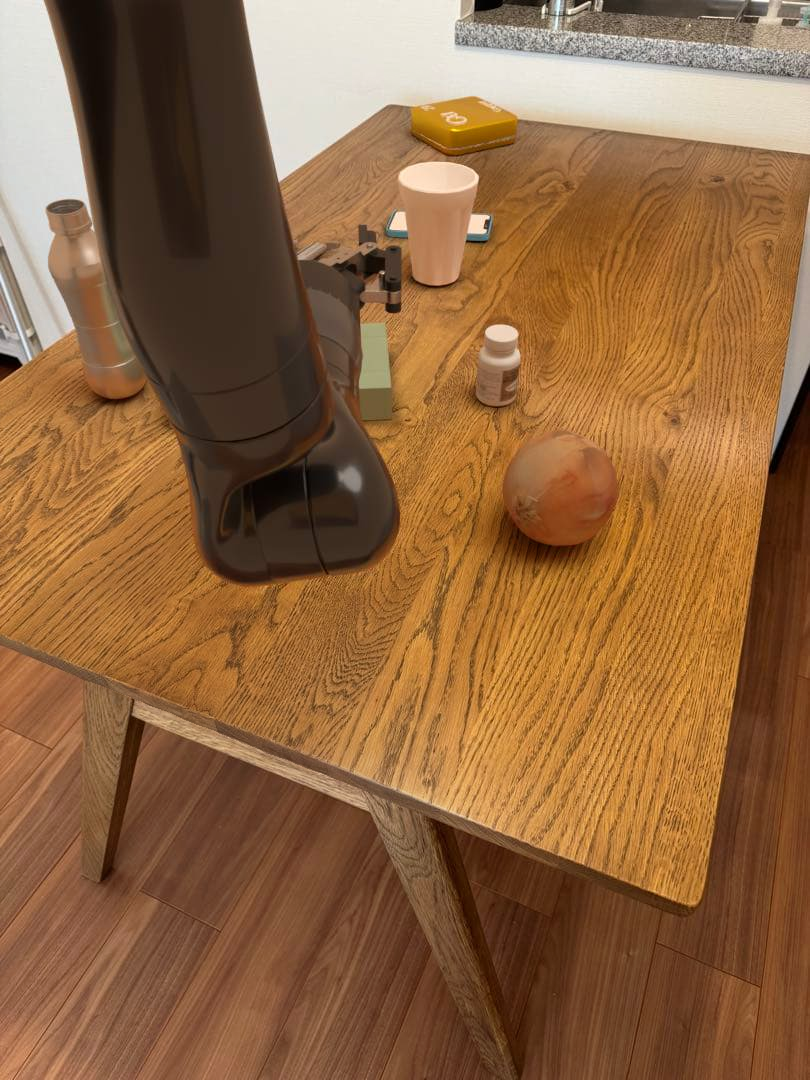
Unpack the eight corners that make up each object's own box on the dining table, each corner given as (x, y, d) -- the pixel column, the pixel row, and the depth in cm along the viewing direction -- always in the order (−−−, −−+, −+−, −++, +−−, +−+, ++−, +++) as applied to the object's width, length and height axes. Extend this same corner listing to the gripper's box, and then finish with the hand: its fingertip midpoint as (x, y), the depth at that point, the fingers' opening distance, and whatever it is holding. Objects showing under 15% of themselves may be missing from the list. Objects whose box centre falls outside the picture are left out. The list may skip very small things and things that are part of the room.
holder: (392, 419, 82) (391, 387, 79) (170, 428, 81) (162, 396, 78) (386, 353, 91) (385, 322, 88) (187, 360, 90) (180, 329, 87)
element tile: (520, 142, 141) (522, 113, 138) (450, 158, 136) (451, 128, 132) (474, 119, 150) (475, 91, 147) (406, 132, 145) (406, 104, 142)
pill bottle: (510, 411, 83) (518, 347, 77) (470, 403, 84) (475, 339, 78) (520, 389, 86) (527, 325, 80) (481, 381, 87) (486, 318, 81)
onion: (477, 540, 69) (485, 452, 62) (529, 480, 75) (541, 392, 68) (577, 586, 65) (598, 497, 58) (624, 518, 71) (648, 429, 64)
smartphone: (394, 210, 118) (493, 214, 116) (394, 217, 119) (492, 221, 117) (384, 230, 113) (488, 235, 111) (385, 238, 114) (488, 243, 112)
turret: (339, 267, 111) (339, 233, 108) (280, 314, 96) (278, 275, 93) (275, 258, 113) (273, 224, 110) (206, 302, 98) (202, 263, 95)
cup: (388, 288, 102) (386, 186, 93) (410, 256, 109) (411, 157, 100) (462, 299, 100) (468, 196, 91) (480, 265, 107) (487, 166, 98)
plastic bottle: (134, 366, 89) (83, 186, 75) (162, 392, 86) (114, 208, 71) (80, 387, 86) (16, 204, 72) (107, 414, 83) (45, 228, 68)
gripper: (412, 287, 49) (397, 187, 61) (185, 292, 49) (213, 190, 60) (410, 387, 55) (397, 278, 66) (205, 393, 54) (227, 282, 65)
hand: (309, 236), depth 63 cm, fingers open, 8 cm apart
